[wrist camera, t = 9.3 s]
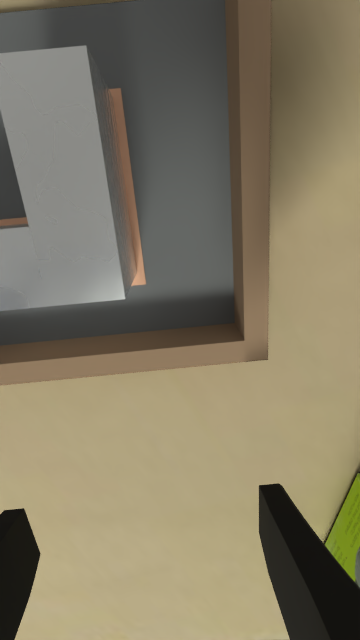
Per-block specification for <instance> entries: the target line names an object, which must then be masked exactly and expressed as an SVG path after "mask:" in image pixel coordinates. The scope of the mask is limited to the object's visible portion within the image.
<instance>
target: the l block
mask: <svg viewBox="0 0 360 640" xmlns="http://www.w3.org/2000/svg"><path fill="white" fill-rule="evenodd" d="M0 110H1V114H2V119H3V123H4V127H5V131H6V135H7V139H8V143H9V147H10V151H11V155H12V159H13V163H14V167H15V172H16V176H17V180H18V184H19V188H20V192H21V196H22V200H23V204H24V208H25V212H26V216H27V220H28V223H25V224H14V225H3V226H0V311H6V310H16V309H27V308H38V307H48V306H59V305H69V304H80V303H91V302H101V301H112V300H122V299H126V297H127V294H128V292H129V290H130V287H131V285H132V283H133V280H134V278H135V276H136V274H137V269H136V261H135V254H134V247H133V239H132V232H131V225H130V217H129V210H128V203H127V196H126V188H125V181H124V174H123V166H122V159H121V152H120V144H119V137H118V130H117V122H116V115H115V108H114V100H113V96H112V94H111V92H110V90H109V88H108V86H107V84H106V82H105V80H104V79H103V77H102V75H101V73H100V71H99V69H98V67H97V65H96V63H95V61H94V59H93V57H92V56H91V54H90V52H89V50H88V48H87V46H86V45H85V46H74V47H63V48H52V49H41V50H30V51H20V52H9V53H0Z"/></svg>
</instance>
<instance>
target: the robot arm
mask: <svg viewBox="0 0 360 640" xmlns="http://www.w3.org/2000/svg"><path fill="white" fill-rule="evenodd" d="M259 534H260V539H261V543H262V547H263V552H264V556H265V560H266V565H267V569H268V573H269V576H270V579H271V582H272V585H273V589H274V592H275V595H276V598H277V601H278V604H279V607H280V610H281V613H282V616H283V619H284V623H285V626H286V629H287V632H288V635H289V638H290V640H360V587H359V586H358V585H357V584H356V583H355V582H354V580H353V579H352V578H351V577H350V576H349V575H348V573H347V572H346V571H345V570H344V569H343V567H342V566H341V565H340V564H339V563H338V561H337V560H336V559H335V558H334V556H333V555H332V554H331V552H330V551H329V550H328V549H327V547H326V546H325V545H324V544H323V542H322V541H321V540H320V539H319V537H318V536H317V535H316V533H315V532H314V531H313V529H312V528H311V527H310V525H309V524H308V523H307V521H306V520H305V519H304V517H303V516H302V514H301V513H300V512H299V510H298V509H297V507H296V506H295V505H294V503H293V502H292V500H291V499H290V497H289V496H288V494H287V493H286V491H285V490H284V488H283V486H281V485H280V484H269V485H259ZM39 558H40V551H39V549H38V546H37V543H36V540H35V537H34V535H33V532H32V529H31V526H30V524H29V521H28V518H27V515H26V513H25V510H24V509H14V510H4V511H3V512H2V513H1V515H0V640H14V639H15V636H16V634H17V631H18V628H19V625H20V622H21V619H22V617H23V614H24V611H25V608H26V605H27V603H28V600H29V597H30V593H31V590H32V586H33V582H34V578H35V574H36V570H37V566H38V562H39Z"/></svg>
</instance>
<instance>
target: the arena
mask: <svg viewBox="0 0 360 640" xmlns="http://www.w3.org/2000/svg"><path fill="white" fill-rule="evenodd" d="M85 45H86V46H87V48H88V50H89V52H90V54H91V56H92V57H93V59H94V61H95V63H96V65H97V67H98V69H99V71H100V73H101V75H102V77H103V79H104V80H105V82H106V84H107V86H108V88H109V90H110V92H111V94H112V96H113V100H114V108H115V115H116V122H117V130H118V137H119V144H120V152H121V159H122V166H123V174H124V181H125V188H126V196H127V203H128V210H129V217H130V225H131V232H132V239H133V247H134V254H135V261H136V269H137V274H136V276H135V278H134V280H133V283H132V285H131V287H130V290H129V292H128V294H127V297H126V299H122V300H112V301H101V302H91V303H80V304H69V305H59V306H48V307H38V308H27V309H16V310H6V311H0V385H10V384H20V383H30V382H41V381H51V380H61V379H72V378H82V377H92V376H103V375H113V374H124V373H134V372H144V371H155V370H165V369H175V368H186V367H196V366H206V365H217V364H227V363H237V362H248V361H258V360H268V303H269V201H270V99H271V0H135V1H125V2H114V3H103V4H93V5H82V6H71V7H61V8H50V9H39V10H28V11H18V12H7V13H0V53H9V52H20V51H30V50H41V49H52V48H63V47H74V46H85ZM25 223H28V220H27V216H26V212H25V208H24V204H23V200H22V196H21V192H20V188H19V184H18V180H17V176H16V172H15V167H14V163H13V159H12V155H11V151H10V147H9V143H8V139H7V135H6V131H5V127H4V123H3V119H2V114H1V110H0V226H3V225H14V224H25Z"/></svg>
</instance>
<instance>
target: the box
mask: <svg viewBox="0 0 360 640" xmlns="http://www.w3.org/2000/svg"><path fill="white" fill-rule="evenodd" d="M325 546H326V547H327V549H328V550H329V551H330V552H331V554H332V555H333V556H334V558H335V559H336V560H337V561H338V563H339V564H340V565H341V566H342V567H343V569H344V570H345V571H346V572H347V573H348V575H349V576H350V577H351V578H352V579H353V580H354V582H355V583H356V584H357V585H358V586H359V587H360V473H357V476H356V478H355V480H354V483H353V485H352V487H351V489H350V491H349V493H348V495H347V498H346V500H345V502H344V504H343V506H342V508H341V511H340V513H339V515H338V517H337V519H336V521H335V524H334V526H333V528H332V530H331V532H330V534H329V537H328V539H327V541H326V543H325Z"/></svg>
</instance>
